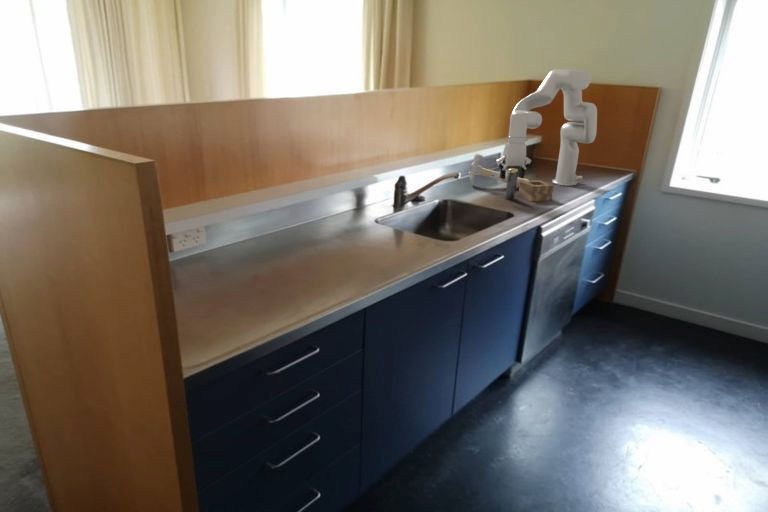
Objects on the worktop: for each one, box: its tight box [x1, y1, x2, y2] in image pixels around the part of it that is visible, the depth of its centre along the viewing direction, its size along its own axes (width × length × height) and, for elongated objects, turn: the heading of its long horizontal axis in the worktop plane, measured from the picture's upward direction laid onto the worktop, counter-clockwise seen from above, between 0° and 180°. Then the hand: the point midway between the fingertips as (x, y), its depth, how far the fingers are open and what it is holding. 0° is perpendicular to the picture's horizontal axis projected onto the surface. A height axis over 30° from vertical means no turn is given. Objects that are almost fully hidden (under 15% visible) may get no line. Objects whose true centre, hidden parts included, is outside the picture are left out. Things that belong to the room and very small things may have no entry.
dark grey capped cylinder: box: [504, 167, 519, 201], centre depth 246 cm, size 4×4×14 cm
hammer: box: [468, 153, 530, 188], centre depth 268 cm, size 16×5×30 cm
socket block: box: [518, 179, 554, 202], centre depth 251 cm, size 11×11×7 cm
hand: (511, 178), depth 245 cm, fingers open, 9 cm apart
